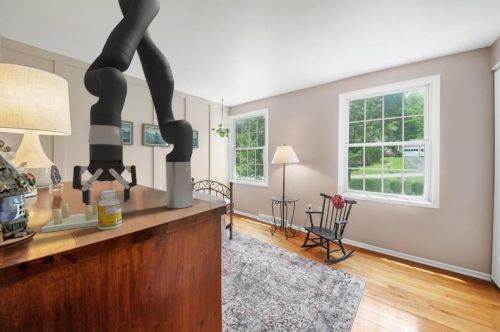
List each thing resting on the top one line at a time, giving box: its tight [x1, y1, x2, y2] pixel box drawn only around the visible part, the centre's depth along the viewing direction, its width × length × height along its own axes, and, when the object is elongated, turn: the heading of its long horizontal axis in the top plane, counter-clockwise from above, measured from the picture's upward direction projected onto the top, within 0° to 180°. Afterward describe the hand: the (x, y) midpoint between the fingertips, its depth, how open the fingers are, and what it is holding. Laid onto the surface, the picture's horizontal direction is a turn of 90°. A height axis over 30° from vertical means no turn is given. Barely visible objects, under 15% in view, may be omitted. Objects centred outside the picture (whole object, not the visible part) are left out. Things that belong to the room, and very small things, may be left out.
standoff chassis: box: [40, 200, 98, 233], centre depth 61 cm, size 12×12×5 cm
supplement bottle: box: [96, 190, 123, 231], centre depth 57 cm, size 5×5×10 cm
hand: (107, 203), depth 57 cm, fingers open, 8 cm apart
